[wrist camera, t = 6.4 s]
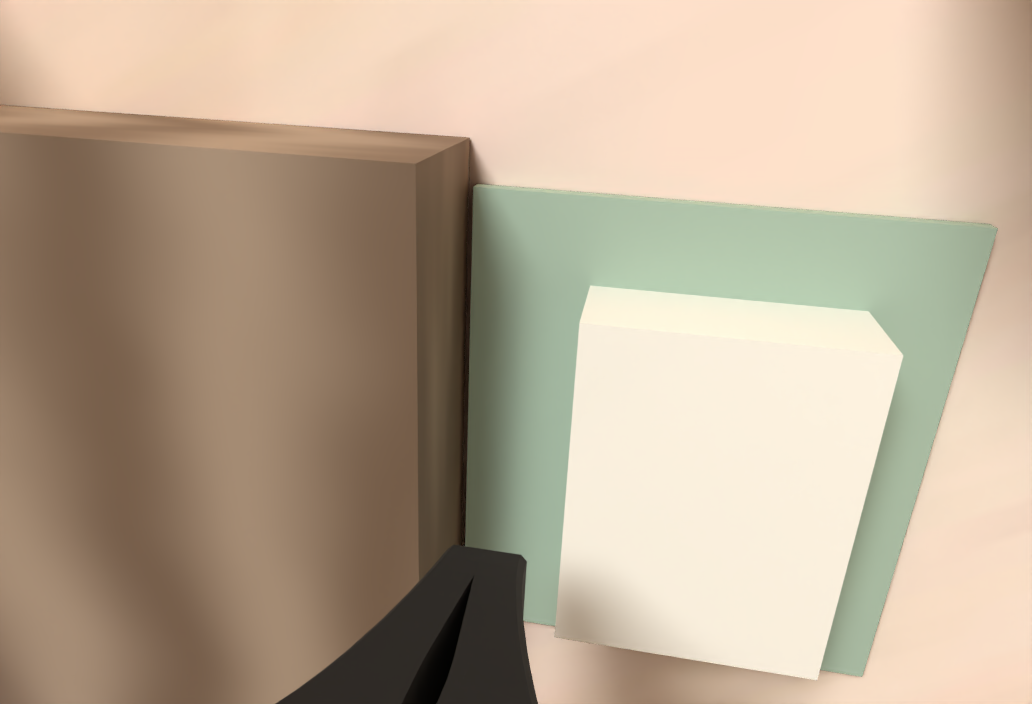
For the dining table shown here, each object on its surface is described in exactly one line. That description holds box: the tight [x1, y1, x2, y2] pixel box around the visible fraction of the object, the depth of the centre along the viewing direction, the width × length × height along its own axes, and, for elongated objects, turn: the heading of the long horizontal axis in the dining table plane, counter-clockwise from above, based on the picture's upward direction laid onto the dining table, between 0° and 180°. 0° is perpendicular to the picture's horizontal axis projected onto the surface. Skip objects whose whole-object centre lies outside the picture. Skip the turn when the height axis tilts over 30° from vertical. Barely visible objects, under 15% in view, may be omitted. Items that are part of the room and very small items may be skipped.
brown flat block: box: [0, 105, 470, 704], centre depth 19 cm, size 14×16×4 cm
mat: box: [465, 184, 998, 677], centre depth 18 cm, size 11×12×1 cm
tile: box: [554, 286, 903, 680], centre depth 17 cm, size 6×8×2 cm
